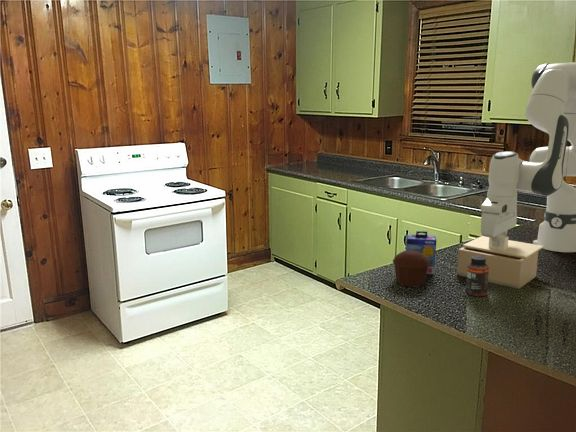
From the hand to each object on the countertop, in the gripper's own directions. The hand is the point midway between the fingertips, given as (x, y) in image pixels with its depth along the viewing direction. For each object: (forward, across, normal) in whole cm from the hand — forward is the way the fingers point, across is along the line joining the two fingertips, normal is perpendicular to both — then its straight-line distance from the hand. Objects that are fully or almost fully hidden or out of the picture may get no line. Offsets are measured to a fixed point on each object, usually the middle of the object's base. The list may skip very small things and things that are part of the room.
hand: (498, 245), depth 166 cm
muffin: (+11, +23, -18) cm, 31 cm away
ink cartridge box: (+11, +12, -21) cm, 27 cm away
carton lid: (+2, -4, 0) cm, 4 cm away
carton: (+10, 0, 0) cm, 11 cm away
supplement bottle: (+11, +19, +2) cm, 22 cm away
